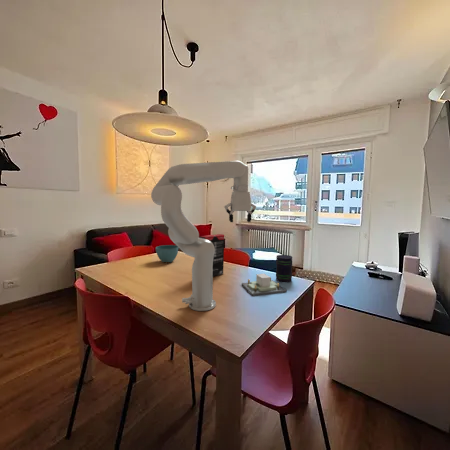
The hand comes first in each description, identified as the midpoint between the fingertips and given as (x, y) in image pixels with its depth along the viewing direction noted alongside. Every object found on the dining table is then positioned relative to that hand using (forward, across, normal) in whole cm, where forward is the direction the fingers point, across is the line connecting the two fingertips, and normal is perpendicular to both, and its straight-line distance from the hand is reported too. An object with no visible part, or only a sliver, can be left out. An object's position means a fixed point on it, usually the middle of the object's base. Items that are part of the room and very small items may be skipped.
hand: (240, 222), depth 119 cm
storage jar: (+38, +34, +12) cm, 53 cm away
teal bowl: (+38, -35, +77) cm, 93 cm away
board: (+37, +15, +2) cm, 40 cm away
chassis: (+38, +15, +2) cm, 41 cm away
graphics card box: (+38, -8, +32) cm, 51 cm away
